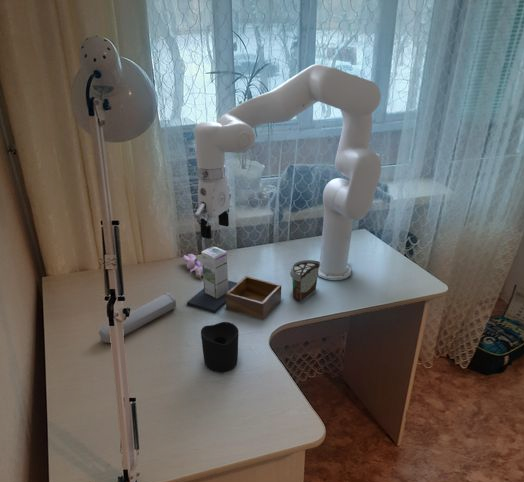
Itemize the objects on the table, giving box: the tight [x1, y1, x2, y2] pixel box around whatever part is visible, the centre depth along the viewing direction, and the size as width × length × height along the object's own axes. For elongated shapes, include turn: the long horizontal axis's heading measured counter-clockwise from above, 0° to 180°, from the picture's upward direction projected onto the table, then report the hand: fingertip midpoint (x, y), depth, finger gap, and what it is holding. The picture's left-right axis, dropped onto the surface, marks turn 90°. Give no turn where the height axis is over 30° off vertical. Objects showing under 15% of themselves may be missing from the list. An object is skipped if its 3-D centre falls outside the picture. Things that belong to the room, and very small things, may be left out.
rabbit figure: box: [182, 253, 203, 281], centre depth 169 cm, size 6×6×15 cm
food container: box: [289, 259, 320, 304], centre depth 157 cm, size 12×6×10 cm, turn 145°
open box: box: [225, 275, 282, 320], centre depth 152 cm, size 13×13×5 cm
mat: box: [186, 280, 238, 314], centre depth 158 cm, size 18×10×1 cm, turn 153°
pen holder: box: [200, 321, 239, 373], centre depth 127 cm, size 9×9×10 cm
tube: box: [98, 291, 177, 344], centre depth 142 cm, size 5×5×25 cm
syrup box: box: [201, 245, 229, 299], centre depth 153 cm, size 6×6×14 cm
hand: (215, 231), depth 145 cm, fingers open, 9 cm apart
